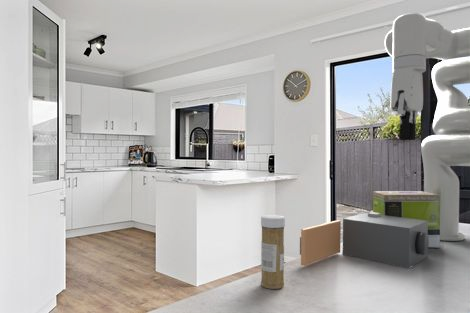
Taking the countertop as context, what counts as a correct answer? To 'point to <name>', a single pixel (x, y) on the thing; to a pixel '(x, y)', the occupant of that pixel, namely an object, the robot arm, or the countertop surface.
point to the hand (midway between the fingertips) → (407, 139)
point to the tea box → (411, 209)
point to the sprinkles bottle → (272, 251)
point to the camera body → (386, 238)
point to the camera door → (320, 242)
